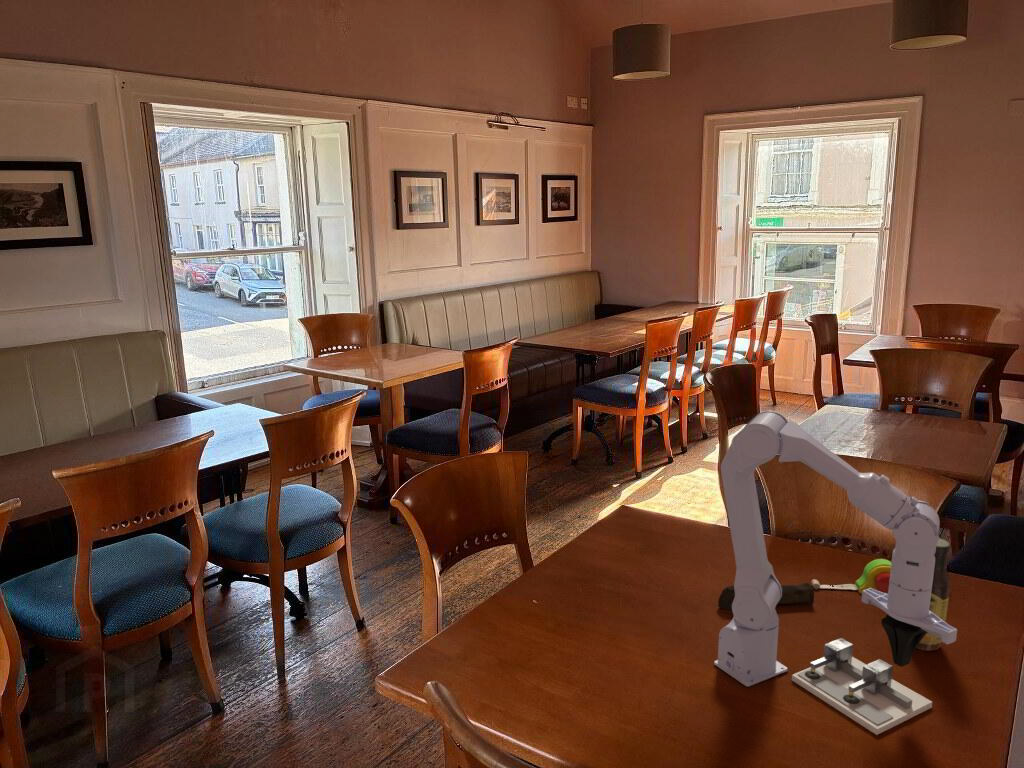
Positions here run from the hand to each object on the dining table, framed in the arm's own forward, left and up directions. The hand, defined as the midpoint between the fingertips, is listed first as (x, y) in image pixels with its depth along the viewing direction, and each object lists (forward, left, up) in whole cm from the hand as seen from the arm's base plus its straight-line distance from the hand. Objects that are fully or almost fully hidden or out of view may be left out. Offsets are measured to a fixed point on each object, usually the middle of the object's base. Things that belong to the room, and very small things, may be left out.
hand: (901, 663), depth 121 cm
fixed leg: (-3, +11, -6) cm, 13 cm away
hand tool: (+6, +33, -8) cm, 34 cm away
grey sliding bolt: (-3, +3, -6) cm, 8 cm away
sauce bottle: (+20, +9, -8) cm, 23 cm away
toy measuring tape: (+28, +28, -8) cm, 40 cm away
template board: (-2, +5, -7) cm, 9 cm away
